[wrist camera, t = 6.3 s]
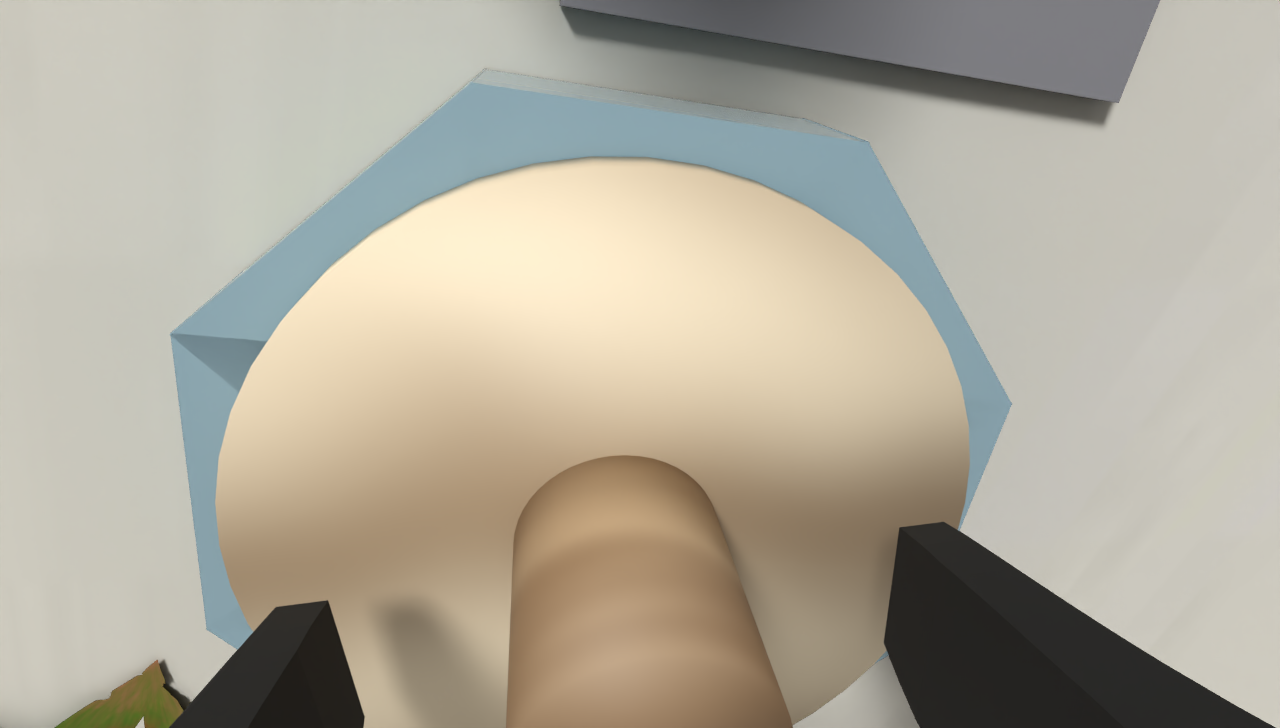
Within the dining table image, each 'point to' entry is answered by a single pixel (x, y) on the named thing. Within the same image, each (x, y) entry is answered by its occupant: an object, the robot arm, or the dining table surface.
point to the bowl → (518, 136)
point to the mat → (936, 34)
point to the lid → (595, 453)
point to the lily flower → (131, 705)
